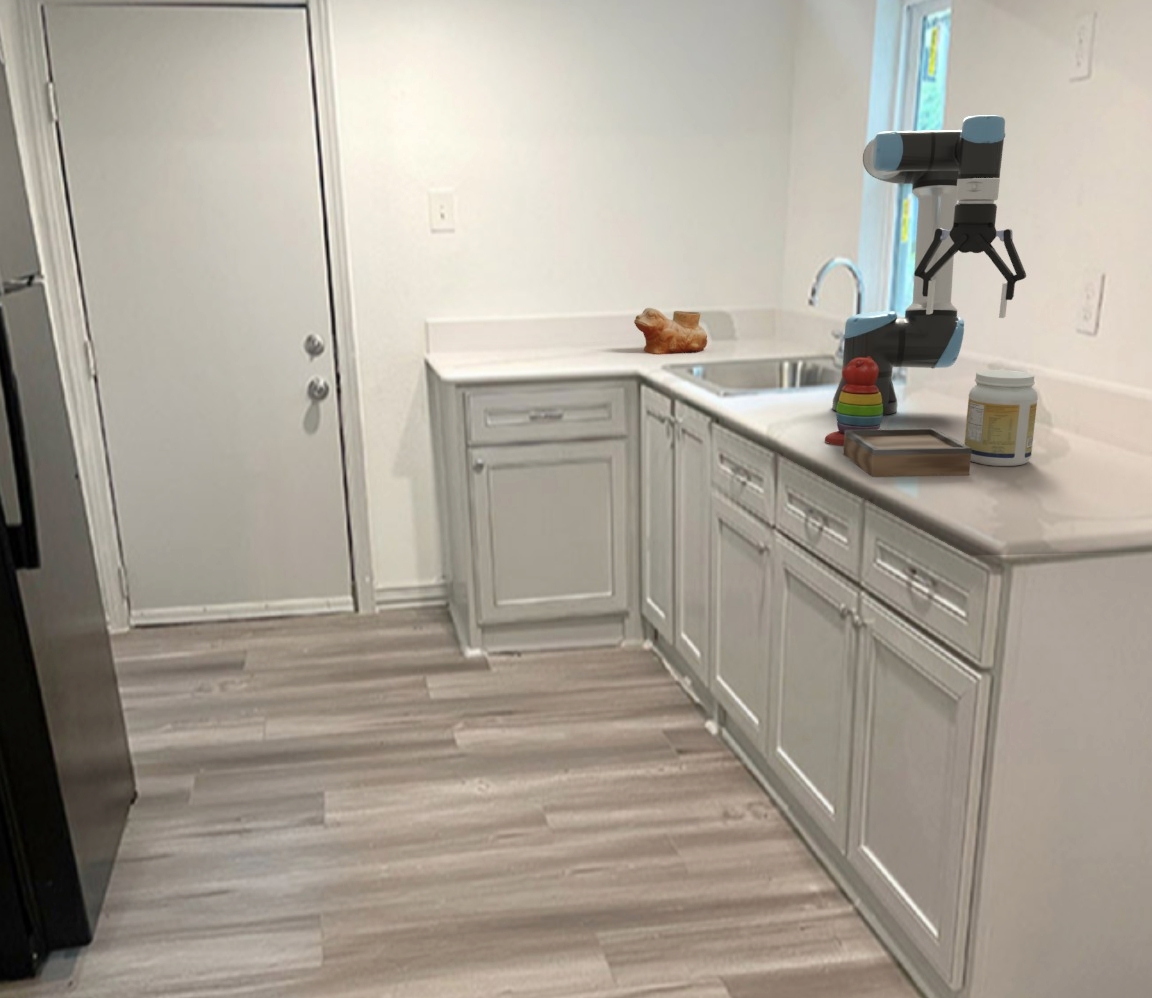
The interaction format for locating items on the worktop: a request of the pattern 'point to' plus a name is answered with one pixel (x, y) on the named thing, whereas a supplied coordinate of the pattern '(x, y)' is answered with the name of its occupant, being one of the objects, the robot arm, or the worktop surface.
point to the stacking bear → (858, 400)
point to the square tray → (906, 452)
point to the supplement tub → (1001, 417)
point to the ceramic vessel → (671, 332)
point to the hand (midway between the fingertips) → (965, 315)
